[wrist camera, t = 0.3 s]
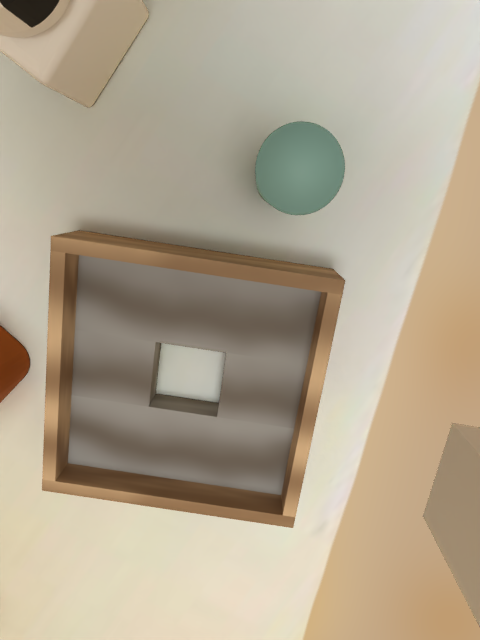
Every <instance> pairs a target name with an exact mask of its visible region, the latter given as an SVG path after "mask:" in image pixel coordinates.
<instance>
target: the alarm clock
mask: <svg viewBox="0 0 480 640" xmlns="http://www.w3.org/2000/svg"><path fill="white" fill-rule="evenodd" d="M29 366H30V360H29V356H28V353H27V351H26V349H25V348H24V347H23V346H22V345H21V344H20V343H19V342H18V341H17V340H16V339H15V338H14V337H12V336H11V335H10V334H9V333H8V332H7V331H6V330H4V329H3V328H2V327H1V326H0V402H1V401H2V400H3V399H4V398H5V397H6V396H7V395H8V394H9V393H10V392H11V391H12V390H13V389H14V388H15V386H16V385H17V384H18V383H19V382H20V381H21V380H22V379H23V378H24V377H25V376H26V374H27V373H28V370H29Z"/></svg>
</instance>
